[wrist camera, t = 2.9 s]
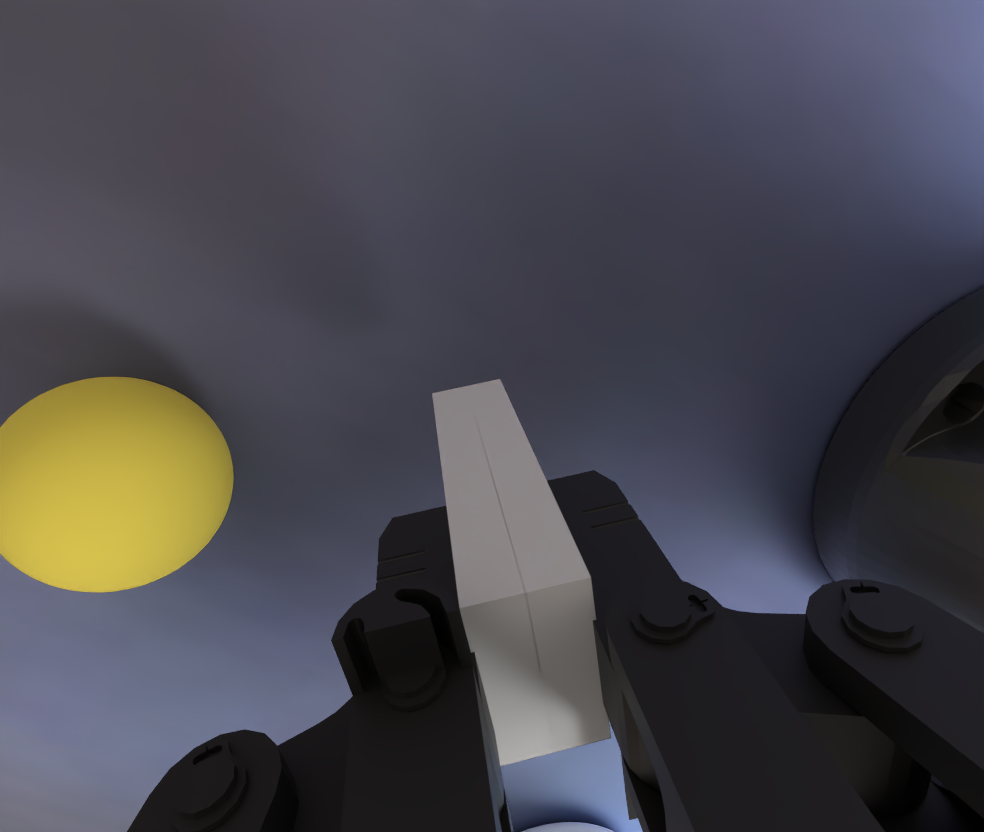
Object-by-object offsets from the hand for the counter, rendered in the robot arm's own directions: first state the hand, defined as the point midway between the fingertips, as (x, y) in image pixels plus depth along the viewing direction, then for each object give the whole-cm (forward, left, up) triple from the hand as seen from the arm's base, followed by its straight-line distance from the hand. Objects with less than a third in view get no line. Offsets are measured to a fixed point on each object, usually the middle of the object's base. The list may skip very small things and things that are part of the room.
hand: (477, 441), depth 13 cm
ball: (+9, 0, -3) cm, 10 cm away
